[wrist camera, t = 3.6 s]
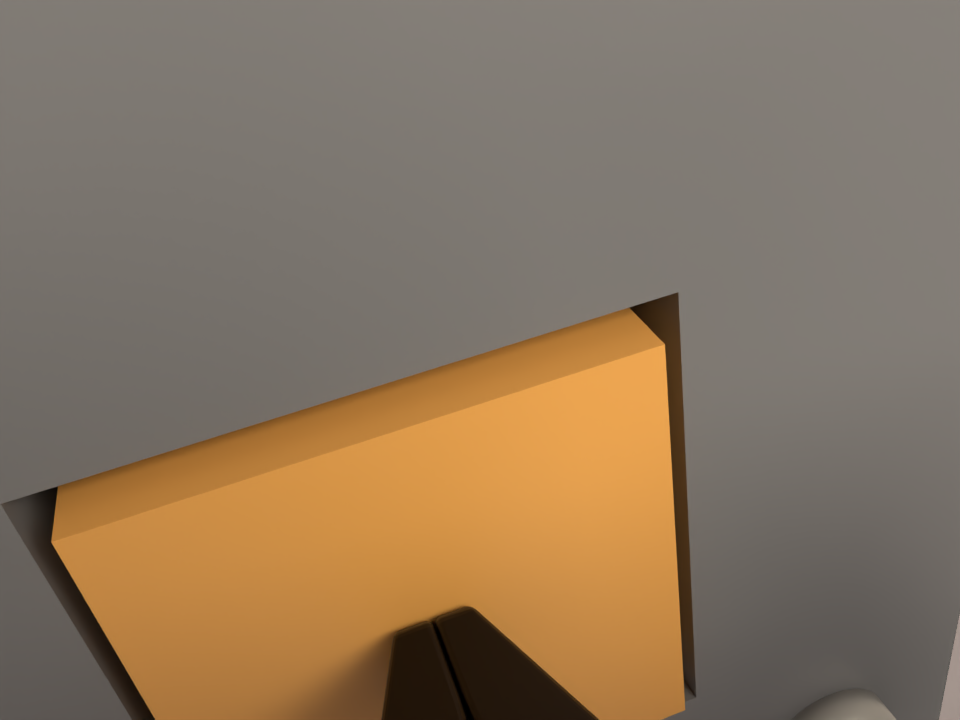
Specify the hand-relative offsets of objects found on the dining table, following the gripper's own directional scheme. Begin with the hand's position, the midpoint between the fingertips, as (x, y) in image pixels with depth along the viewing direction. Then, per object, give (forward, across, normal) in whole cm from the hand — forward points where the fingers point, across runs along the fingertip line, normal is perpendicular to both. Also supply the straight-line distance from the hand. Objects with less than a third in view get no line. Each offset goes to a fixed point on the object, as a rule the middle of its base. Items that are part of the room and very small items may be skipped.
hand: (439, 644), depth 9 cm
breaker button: (+3, 0, 0) cm, 3 cm away
